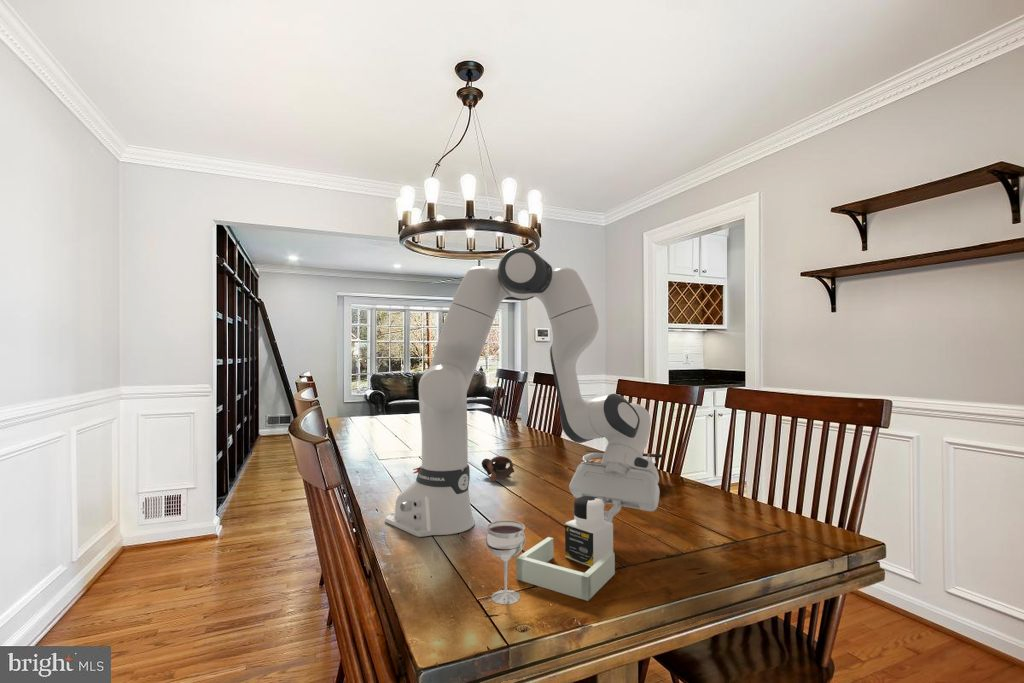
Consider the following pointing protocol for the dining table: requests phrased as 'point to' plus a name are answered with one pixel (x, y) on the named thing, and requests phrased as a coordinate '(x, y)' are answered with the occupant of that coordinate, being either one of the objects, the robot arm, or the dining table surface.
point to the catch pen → (563, 572)
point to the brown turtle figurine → (498, 467)
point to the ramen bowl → (599, 454)
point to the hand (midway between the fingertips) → (604, 519)
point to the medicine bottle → (588, 532)
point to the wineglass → (505, 551)
